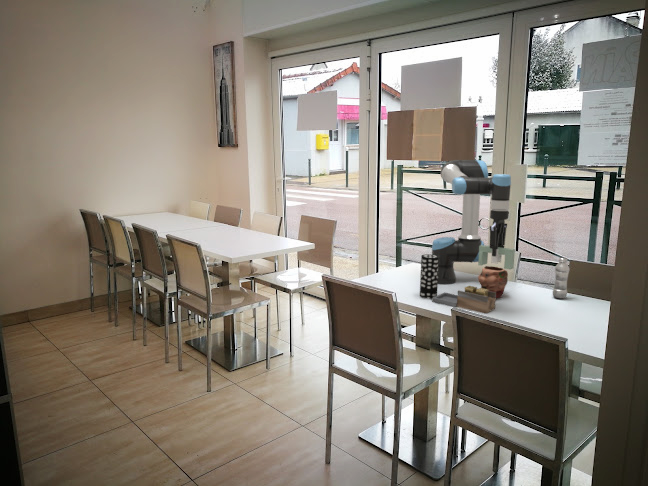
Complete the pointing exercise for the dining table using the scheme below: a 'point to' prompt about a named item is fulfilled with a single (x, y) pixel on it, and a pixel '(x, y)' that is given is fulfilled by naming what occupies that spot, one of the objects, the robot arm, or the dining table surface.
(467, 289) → the brass block
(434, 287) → the spotted tube
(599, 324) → the dining table surface
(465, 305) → the slot ledge
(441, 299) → the tray
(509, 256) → the mint green arch block
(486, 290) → the yellow rock
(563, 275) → the plastic bottle
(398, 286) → the dining table surface
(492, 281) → the decorative planter
